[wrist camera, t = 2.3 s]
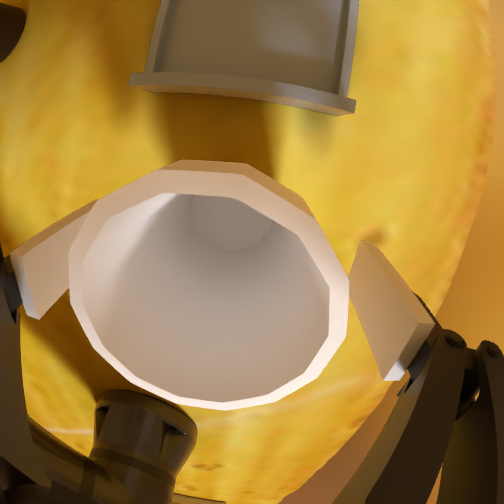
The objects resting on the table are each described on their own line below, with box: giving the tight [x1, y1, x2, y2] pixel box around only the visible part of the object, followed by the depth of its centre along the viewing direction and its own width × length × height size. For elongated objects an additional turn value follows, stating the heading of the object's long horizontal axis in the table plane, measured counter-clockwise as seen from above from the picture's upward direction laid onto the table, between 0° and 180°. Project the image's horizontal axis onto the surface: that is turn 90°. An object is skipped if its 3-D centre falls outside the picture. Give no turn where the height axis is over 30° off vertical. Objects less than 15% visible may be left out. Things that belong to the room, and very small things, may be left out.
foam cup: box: [68, 159, 350, 410], centre depth 14 cm, size 10×9×13 cm
